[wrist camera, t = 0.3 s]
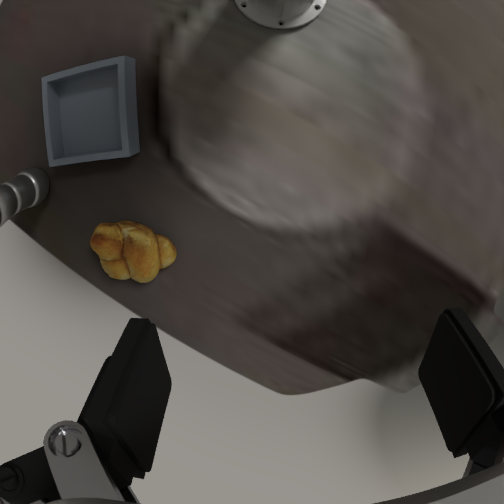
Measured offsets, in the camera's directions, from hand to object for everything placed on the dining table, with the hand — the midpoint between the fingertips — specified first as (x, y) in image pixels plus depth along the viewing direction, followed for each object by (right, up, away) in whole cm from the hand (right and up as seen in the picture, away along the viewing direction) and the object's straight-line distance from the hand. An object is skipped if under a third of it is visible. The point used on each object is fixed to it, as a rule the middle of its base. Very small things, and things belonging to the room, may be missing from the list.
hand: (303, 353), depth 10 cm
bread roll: (-19, +4, +40) cm, 45 cm away
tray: (-25, +24, +30) cm, 45 cm away
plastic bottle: (-38, +15, +35) cm, 53 cm away
